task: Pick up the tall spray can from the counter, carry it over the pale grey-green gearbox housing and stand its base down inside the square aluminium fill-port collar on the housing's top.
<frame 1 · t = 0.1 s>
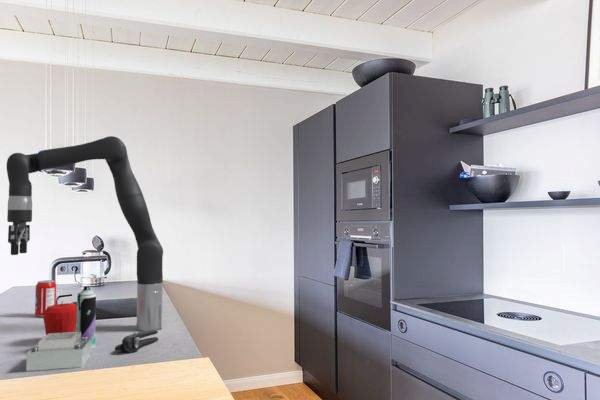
hand: (18, 254, 160), 29 cm above the worktop, tool pointing down, fingers open, 8 cm apart
apple: (60, 341, 152), on the worktop
soda can: (45, 316, 192), on the worktop
spray can: (85, 348, 144), on the worktop
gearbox: (60, 362, 130), on the worktop
can opener: (140, 348, 146), on the worktop
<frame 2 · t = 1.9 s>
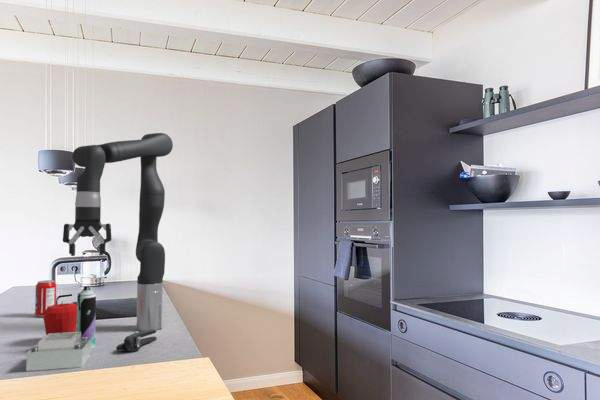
hand: (87, 255, 145), 30 cm above the worktop, tool pointing down, fingers open, 8 cm apart
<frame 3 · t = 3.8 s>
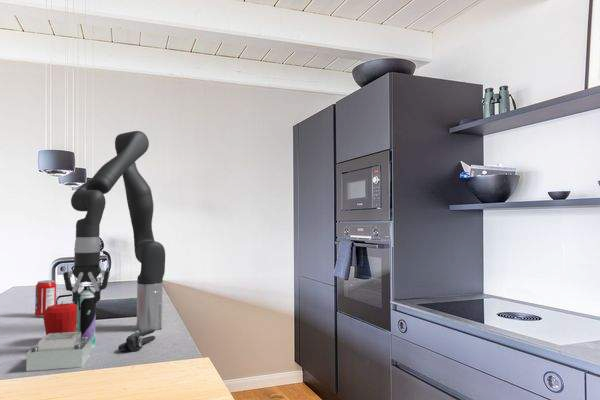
hand: (86, 302, 145), 14 cm above the worktop, tool pointing down, fingers closed on spray can, 5 cm apart
spray can: (85, 348, 144), on the worktop, touching gripper
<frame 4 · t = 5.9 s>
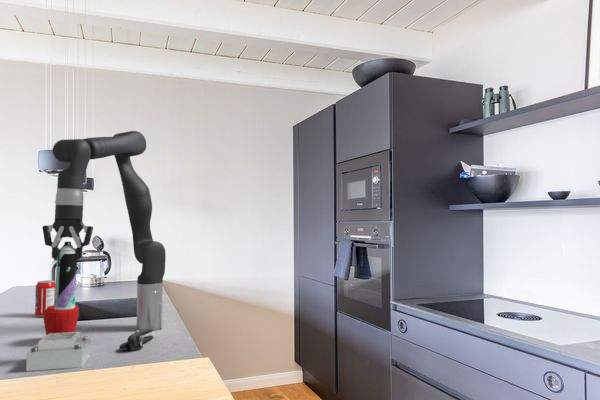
hand: (66, 259, 135), 29 cm above the worktop, tool pointing down, fingers closed on spray can, 5 cm apart
spray can: (64, 308, 134), point 15 cm above the worktop, touching gripper
when the fingers open (21 cm above the worktop, at t = 8.1 s): spray can drops 1 cm, resting on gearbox.
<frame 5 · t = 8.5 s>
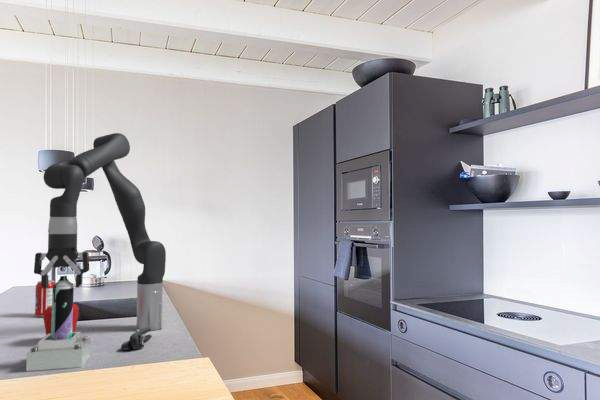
hand: (61, 287, 131), 22 cm above the worktop, tool pointing down, fingers open, 8 cm apart
spray can: (61, 345, 130), point 5 cm above the worktop, touching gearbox
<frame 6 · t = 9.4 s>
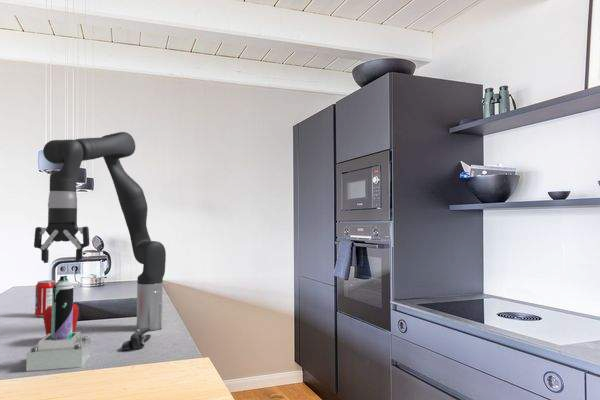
hand: (62, 262, 131), 29 cm above the worktop, tool pointing down, fingers open, 8 cm apart
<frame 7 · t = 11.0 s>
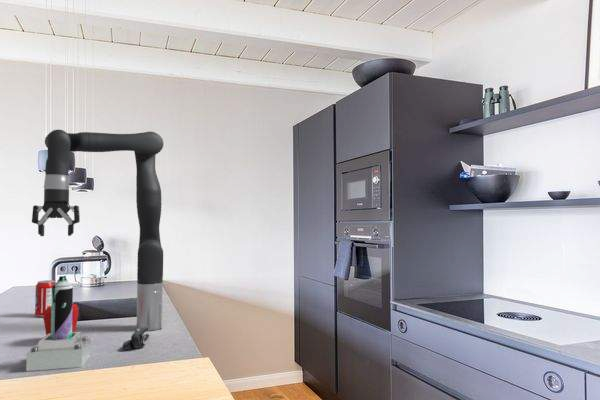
hand: (55, 235, 152), 36 cm above the worktop, tool pointing down, fingers open, 8 cm apart
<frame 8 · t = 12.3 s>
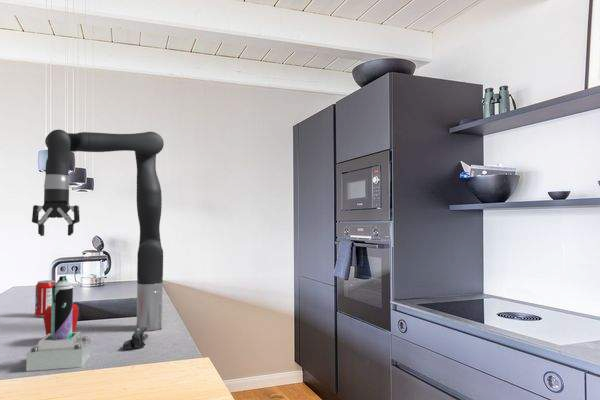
hand: (55, 235, 152), 36 cm above the worktop, tool pointing down, fingers open, 8 cm apart
at the end: spray can 0.2 cm from the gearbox (horizontally); spray can tilted 0°; the gripper is holding nothing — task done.
